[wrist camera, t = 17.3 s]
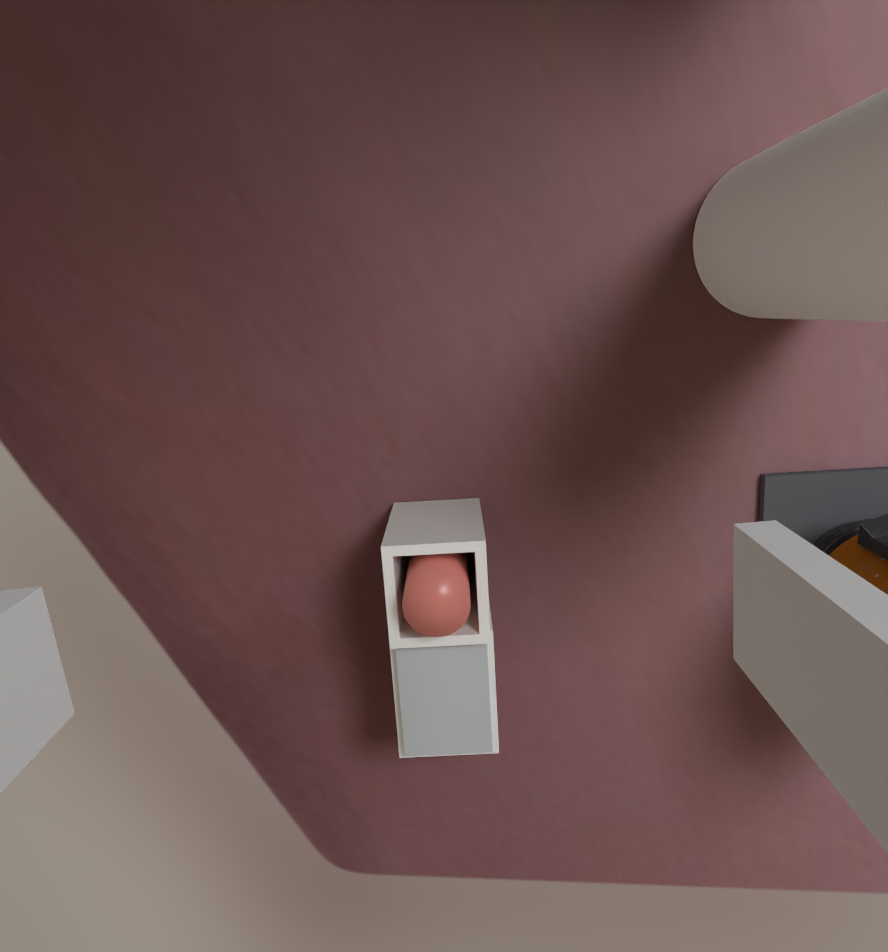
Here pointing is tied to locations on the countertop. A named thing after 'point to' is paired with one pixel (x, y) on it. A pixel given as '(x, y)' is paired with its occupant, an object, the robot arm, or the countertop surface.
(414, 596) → the salmon pink capsule
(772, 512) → the drip mat
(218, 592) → the countertop surface
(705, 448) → the countertop surface
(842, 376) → the countertop surface
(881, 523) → the canister
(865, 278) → the cylinder container
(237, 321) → the countertop surface
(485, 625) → the white rectangular box
